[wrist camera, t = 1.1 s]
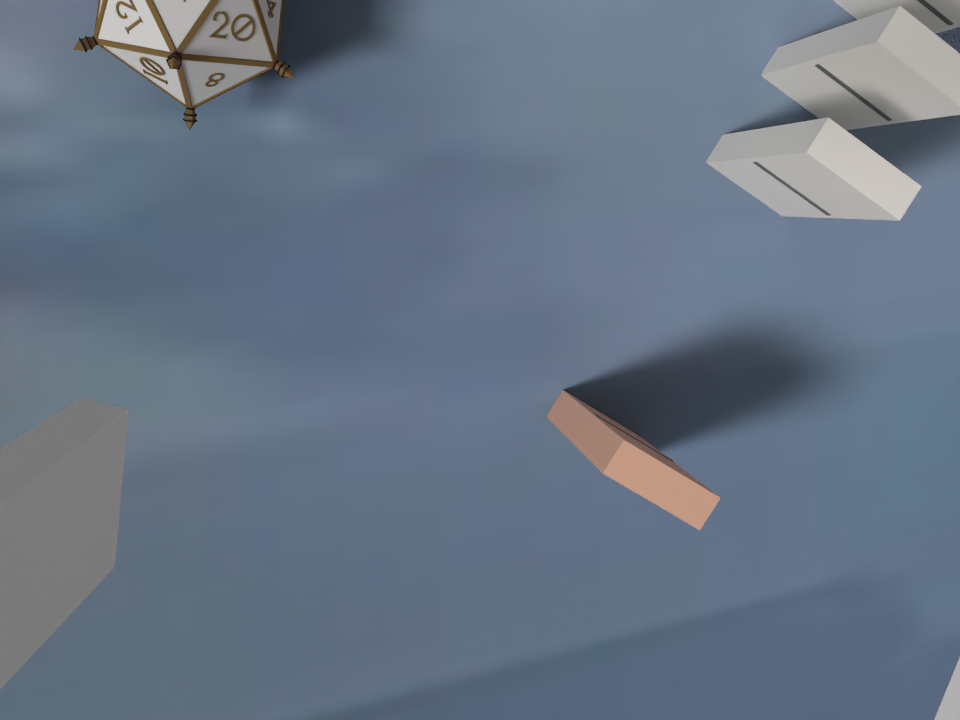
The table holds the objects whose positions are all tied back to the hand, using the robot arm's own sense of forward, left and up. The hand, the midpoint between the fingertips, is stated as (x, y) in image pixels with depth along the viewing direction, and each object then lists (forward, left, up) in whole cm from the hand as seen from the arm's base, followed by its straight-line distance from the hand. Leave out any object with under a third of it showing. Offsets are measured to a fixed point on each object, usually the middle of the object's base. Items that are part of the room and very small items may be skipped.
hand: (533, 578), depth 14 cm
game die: (-14, -6, -32) cm, 36 cm away
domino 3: (-4, +19, -32) cm, 37 cm away
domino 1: (+7, +9, -32) cm, 34 cm away
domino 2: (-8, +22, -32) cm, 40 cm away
